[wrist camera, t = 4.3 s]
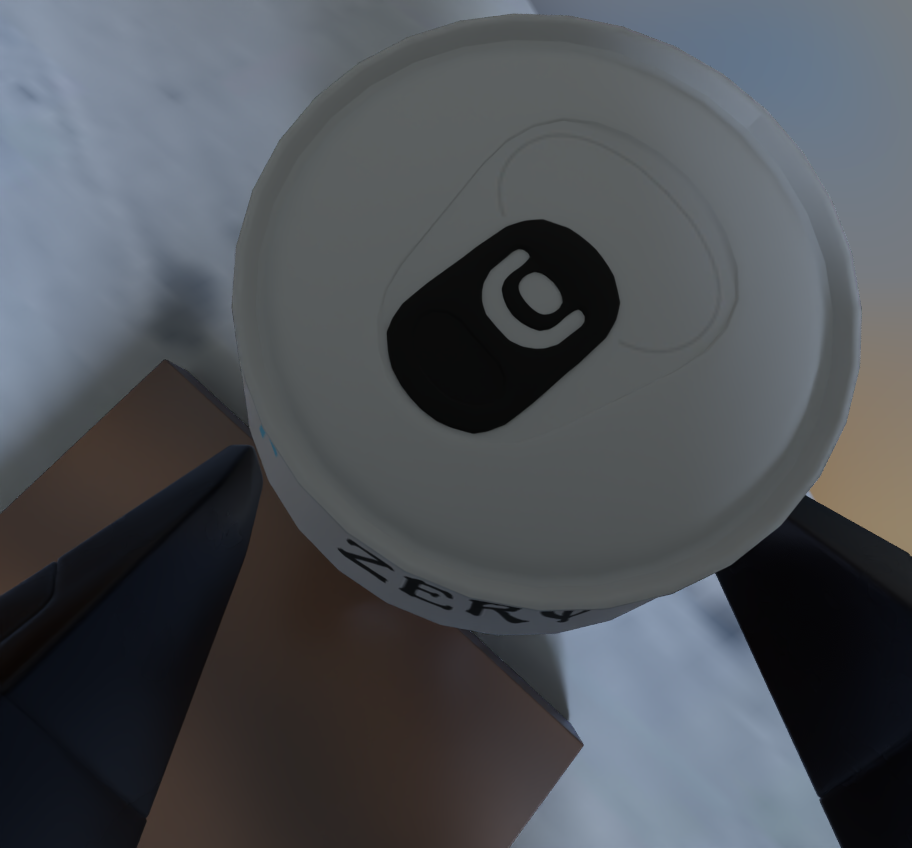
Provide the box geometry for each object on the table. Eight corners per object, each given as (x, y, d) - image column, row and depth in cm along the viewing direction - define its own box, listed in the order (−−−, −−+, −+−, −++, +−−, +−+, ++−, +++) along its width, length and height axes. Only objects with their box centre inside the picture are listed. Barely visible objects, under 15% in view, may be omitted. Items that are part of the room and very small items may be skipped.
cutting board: (298, 1092, 15) (283, 1158, 13) (-112, 654, 16) (-168, 670, 15) (571, 724, 17) (585, 745, 15) (186, 369, 18) (164, 358, 17)
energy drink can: (563, 469, 18) (1090, 332, 4) (448, 571, 18) (522, 939, 3) (466, 357, 19) (578, -152, 4) (350, 450, 18) (-23, 219, 3)
